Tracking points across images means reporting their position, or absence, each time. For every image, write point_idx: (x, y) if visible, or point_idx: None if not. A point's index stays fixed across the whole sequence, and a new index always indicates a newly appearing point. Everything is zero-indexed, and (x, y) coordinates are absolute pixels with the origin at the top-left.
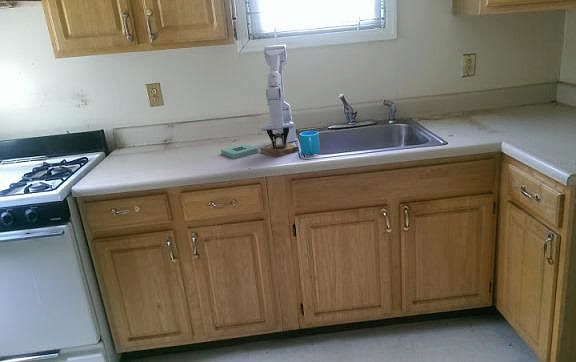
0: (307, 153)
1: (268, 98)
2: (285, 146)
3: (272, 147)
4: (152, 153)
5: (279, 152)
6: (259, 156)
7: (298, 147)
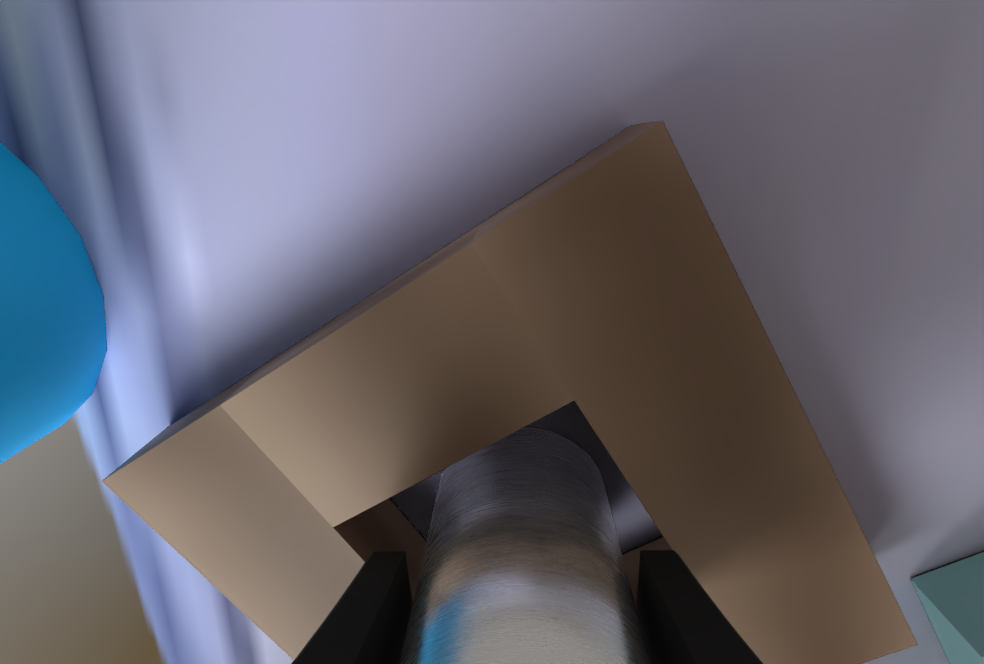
0: None
1: None
2: None
3: None
4: None
5: (548, 191)
6: (973, 326)
7: (124, 462)
